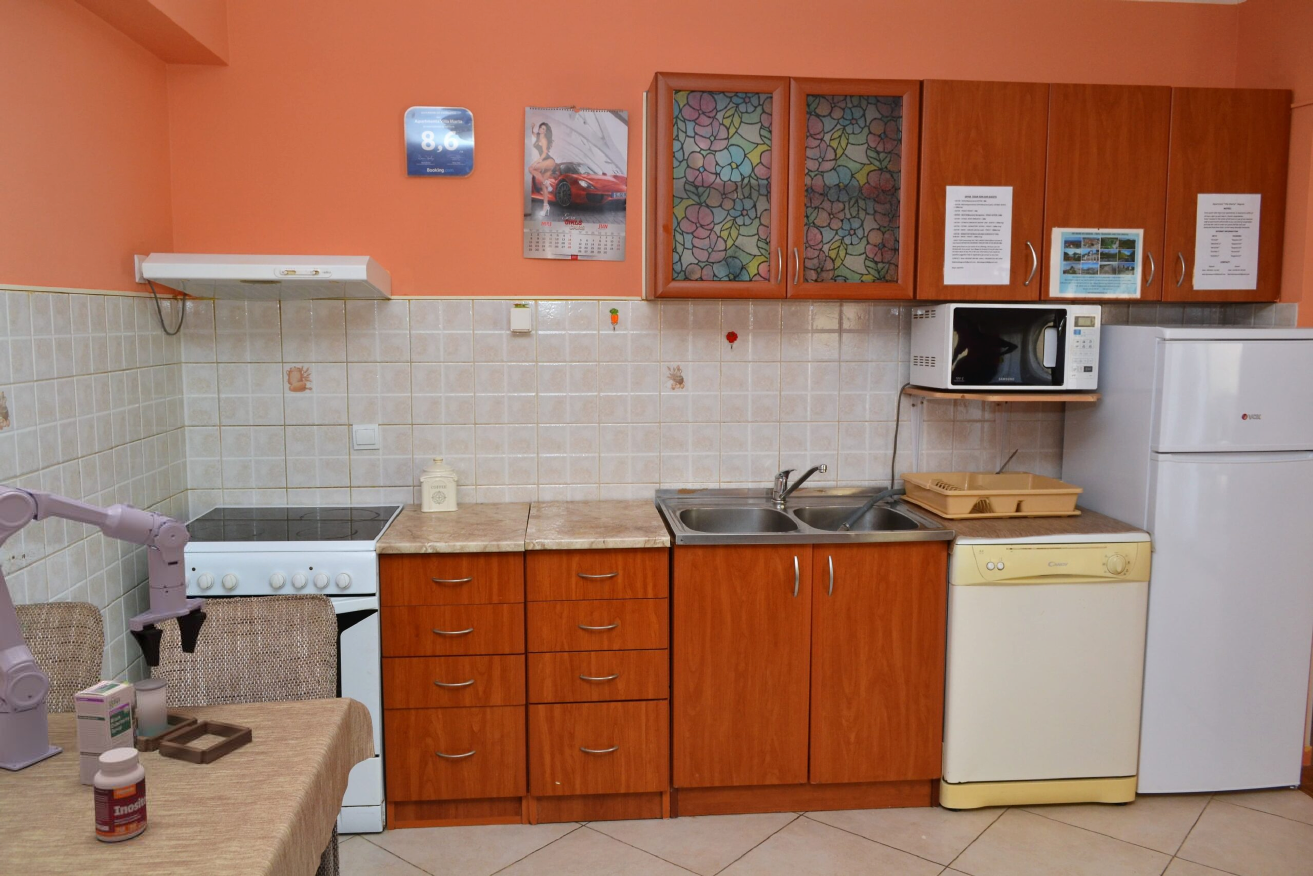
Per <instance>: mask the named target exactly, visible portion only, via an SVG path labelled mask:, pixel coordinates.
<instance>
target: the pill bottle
mask: <svg viewBox="0 0 1313 876" xmlns="http://www.w3.org/2000/svg"><path fill="white" fill-rule="evenodd" d="M138 759H139V760H140V758H139V751H138V750H137V749H135V748H117V749H113V750H110V751H107V752H105V753H103V754H102V755H101V756H100V757H99V767H100V769H101V770H100V771H99V772H98V773H97V774H96V775H95V777H94V786H93V797H94V798H93V800H94V801H93V802H94V819H95V820H94V822H95V823H94V826H95V827H94V828H95V836H96V837H97V839H98V840H100V841H103V842H111V843H112V842H119V841H121V842H122V841H125V840H129V839H132V838H133V837H136V836H137V835H139V834H141V833H142V832H143V831H144V830H145V829H146V827H147V825H148V813H147V812H148V811H147V789H146V787H147V785H146V784H147V783H146V771H145V768H144V766H143V765H141V764H140V763H139V764H138Z"/></svg>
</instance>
